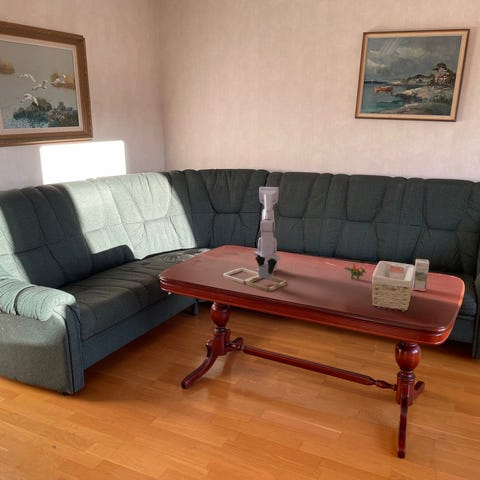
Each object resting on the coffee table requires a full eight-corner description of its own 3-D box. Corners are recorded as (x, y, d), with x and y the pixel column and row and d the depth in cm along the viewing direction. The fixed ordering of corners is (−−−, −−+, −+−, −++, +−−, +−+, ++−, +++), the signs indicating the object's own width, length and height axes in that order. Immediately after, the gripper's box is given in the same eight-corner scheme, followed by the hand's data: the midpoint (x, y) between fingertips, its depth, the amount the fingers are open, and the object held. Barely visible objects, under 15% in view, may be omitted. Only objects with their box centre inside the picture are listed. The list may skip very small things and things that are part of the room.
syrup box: (425, 288, 219) (428, 259, 215) (425, 292, 214) (429, 263, 210) (412, 286, 221) (415, 258, 217) (412, 290, 215) (416, 261, 212)
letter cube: (265, 273, 224) (265, 263, 222) (273, 276, 220) (273, 265, 219) (258, 276, 220) (258, 266, 219) (266, 278, 217) (267, 268, 216)
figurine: (363, 282, 226) (365, 266, 224) (341, 277, 233) (342, 262, 231) (366, 280, 228) (367, 265, 226) (343, 275, 235) (344, 260, 233)
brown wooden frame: (263, 276, 231) (263, 274, 231) (286, 283, 222) (287, 281, 222) (244, 284, 221) (244, 281, 220) (268, 291, 211) (268, 288, 211)
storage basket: (408, 314, 190) (412, 281, 186) (368, 307, 196) (371, 275, 192) (412, 295, 211) (416, 264, 207) (376, 289, 217) (379, 259, 213)
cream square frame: (241, 270, 241) (241, 267, 240) (262, 276, 232) (262, 273, 231) (221, 277, 230) (222, 274, 230) (243, 284, 221) (243, 281, 221)
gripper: (249, 243, 218) (249, 270, 221) (274, 249, 209) (273, 277, 212) (259, 241, 223) (258, 267, 227) (283, 246, 214) (282, 274, 217)
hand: (266, 272), depth 220 cm, fingers closed on letter cube, 5 cm apart
